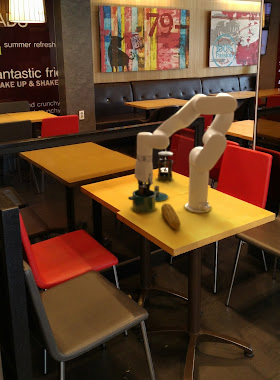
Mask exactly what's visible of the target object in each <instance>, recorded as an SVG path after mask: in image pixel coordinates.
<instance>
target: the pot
mask: <svg viewBox="0 0 280 380" xmlns="http://www.w3.org/2000/svg"><path fill="white" fill-rule="evenodd" d="M159 192H160V191H159ZM159 192H158V191H154V190H152V189H150V194H149V195H141V194H139V193H138V189H135V190H133V192H132V193H131V194H132V195H131V196H128V200H129V201H131V202H132V203H131V206H132V207H131V209H132V210H133V211H134V212H137V213H141V214H148V213H152V212H154V211H155V210H156V206H157V205H156V204H157V203H156V202H157V201H156V195H157V194H159Z"/></svg>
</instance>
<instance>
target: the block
mask: <svg viewBox="0 0 280 380" xmlns="http://www.w3.org/2000/svg"><path fill="white" fill-rule="evenodd" d="M137 185H138V186H137V190H138V193H139V194H141V195H144V183H143V185H139V184H137Z"/></svg>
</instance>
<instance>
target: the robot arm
mask: <svg viewBox="0 0 280 380" xmlns="http://www.w3.org/2000/svg"><path fill="white" fill-rule="evenodd" d="M237 108H238V101H237V98H235V97H234V95H230V94H228V93H225V92H220V93H217V95H205V94H202V93H197V94H195V95H194V96H193V97H191V98H190V99H189V100H188V101H187V102H186V103H185V104H184V105H183V106H182V107H181V108H180V109H179V110H178V111H177V112H176V113H174V114H173V115H171V116H169V118H167V119H166V120H165V121H163V123H162V124H160V125H159V126H158V127H157V128H156V129H155V130H154V131H153V132H152V133H151V132H147V131H142V132H138V133H137V134H136V135H137V136H136V160H135V165H134V178H135V179H136V180H137V185H143V184H144V195H149V194H150V190H151V189H150V188H151V186H152V185H154V182H153V179H154V166H153V165H154V164H153V149H156V150H165V148H166V149H167V148H168V146H169V145H170V137H171V136H172V135H173V134H174V133H176V132H177V131H179V130H181V129H184V128H187V127H189V126H190V125H191V124H192V123H193V122H195V120H197V119H198V117H200V116H201V115H209V116H210V115H215V117H214V119H213V121H212V122H211V124H210V125H209V127H208V128H207V130H206V131H205V132H204V133H203V136H202V143H203V144H204V145H203V146H196V147H194V148H192V149H191V151H190V152H189V156H188V163H189V165H188V167H189V173H188V174H189V178H188V197H187V198H188V199H187V200H188V201H187V202H186V203H185V205H184V208H185V209H186V210H187V211H189V212H191V213H196V214H204V213H207V212H209V211H210V210H211V209H212V208H213V207H212V206H211V205H210V202H209V200H208V198H209V181H210V180H209V179H210V171H211V170H212V169H213V168H214V166H215V165H216V164H217V162H218V161H219V159H220V158H221V156H222V155H223V154H224V152H225V150H226V148H227V144H228V141H227V137H226V135H227V133H228V131H229V130H230V128H231V126H232V124H233V122H234V117H235V112H236V110H237Z"/></svg>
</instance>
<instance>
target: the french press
mask: <svg viewBox="0 0 280 380" xmlns="http://www.w3.org/2000/svg"><path fill="white" fill-rule="evenodd" d="M164 150H165V151H159V152H158V153H157V154H158V157H159V159H158V160H157V164H158V169H157V178H156V180H157V181H158V182H169V183H170V182H173V164H174V160H172V159H169V158H167V157H172V158H173V154H174V153H173V152H172V151H167V148H165V149H164ZM163 166H164V167H163ZM166 166H167V167H166Z"/></svg>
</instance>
